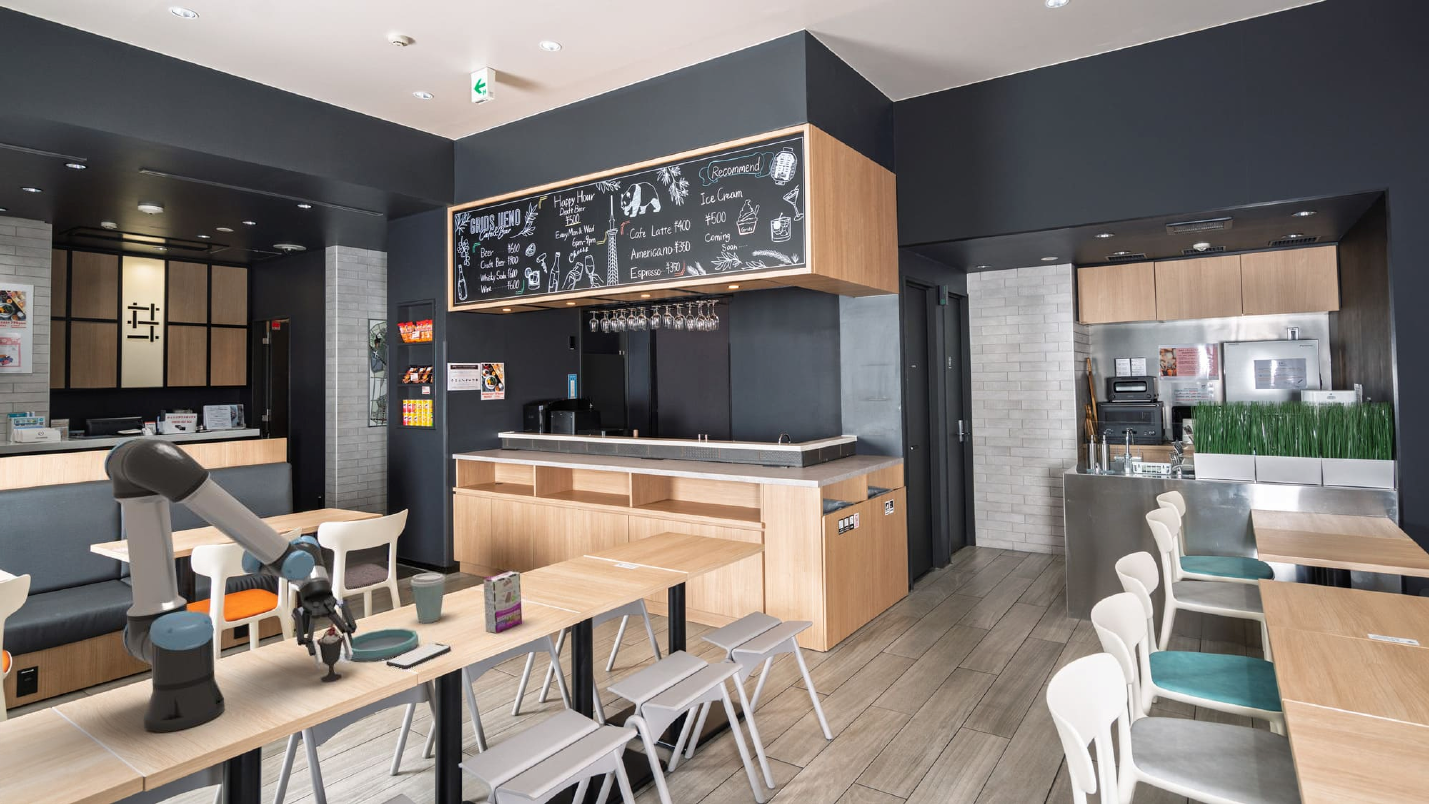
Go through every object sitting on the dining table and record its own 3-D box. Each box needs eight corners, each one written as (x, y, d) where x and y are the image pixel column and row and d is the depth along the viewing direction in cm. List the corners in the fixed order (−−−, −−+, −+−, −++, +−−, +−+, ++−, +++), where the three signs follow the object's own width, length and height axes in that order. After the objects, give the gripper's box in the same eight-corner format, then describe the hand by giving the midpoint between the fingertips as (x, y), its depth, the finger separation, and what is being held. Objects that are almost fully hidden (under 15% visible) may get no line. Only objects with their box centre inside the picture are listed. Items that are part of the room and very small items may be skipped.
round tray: (373, 666, 199) (373, 655, 199) (330, 655, 208) (330, 645, 208) (431, 644, 215) (431, 634, 215) (389, 635, 225) (389, 625, 225)
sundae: (333, 683, 187) (332, 625, 187) (311, 682, 188) (309, 624, 188) (351, 674, 193) (350, 617, 193) (329, 672, 195) (328, 616, 195)
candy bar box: (511, 621, 235) (509, 570, 235) (522, 623, 233) (520, 572, 233) (484, 631, 226) (482, 578, 225) (496, 634, 223) (494, 580, 223)
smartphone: (406, 672, 196) (453, 651, 210) (406, 666, 195) (452, 646, 210) (384, 667, 200) (431, 647, 214) (383, 661, 200) (431, 641, 214)
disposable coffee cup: (438, 613, 246) (437, 569, 246) (452, 620, 238) (451, 574, 238) (406, 621, 239) (405, 575, 238) (420, 628, 231) (418, 580, 231)
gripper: (349, 587, 209) (371, 658, 197) (271, 602, 195) (290, 679, 183) (355, 572, 205) (378, 643, 193) (276, 586, 191) (295, 663, 180)
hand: (335, 660), depth 188 cm, fingers closed on sundae, 7 cm apart
